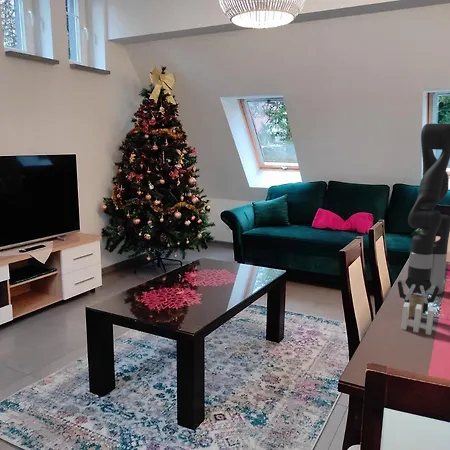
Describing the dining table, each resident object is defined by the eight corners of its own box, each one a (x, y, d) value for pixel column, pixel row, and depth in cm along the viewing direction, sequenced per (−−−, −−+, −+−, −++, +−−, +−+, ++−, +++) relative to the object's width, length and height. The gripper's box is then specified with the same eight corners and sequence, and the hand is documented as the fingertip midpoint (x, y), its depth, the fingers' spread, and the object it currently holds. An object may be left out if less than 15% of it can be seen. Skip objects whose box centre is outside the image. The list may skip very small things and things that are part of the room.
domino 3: (414, 326, 154) (416, 304, 152) (419, 327, 153) (421, 304, 152) (413, 331, 149) (415, 308, 148) (418, 332, 149) (420, 309, 147)
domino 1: (402, 324, 155) (404, 301, 154) (407, 325, 155) (409, 302, 153) (400, 329, 151) (403, 306, 150) (405, 330, 150) (408, 307, 149)
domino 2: (407, 316, 163) (409, 294, 161) (407, 314, 164) (409, 293, 163) (422, 318, 161) (424, 297, 159) (422, 317, 162) (424, 296, 161)
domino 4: (426, 328, 152) (429, 306, 151) (431, 329, 151) (434, 306, 150) (425, 333, 148) (427, 310, 146) (430, 335, 147) (433, 311, 146)
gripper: (443, 265, 159) (438, 311, 162) (399, 260, 166) (395, 304, 169) (442, 270, 153) (436, 318, 155) (397, 264, 159) (392, 310, 162)
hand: (415, 310), depth 162 cm, fingers closed on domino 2, 5 cm apart
